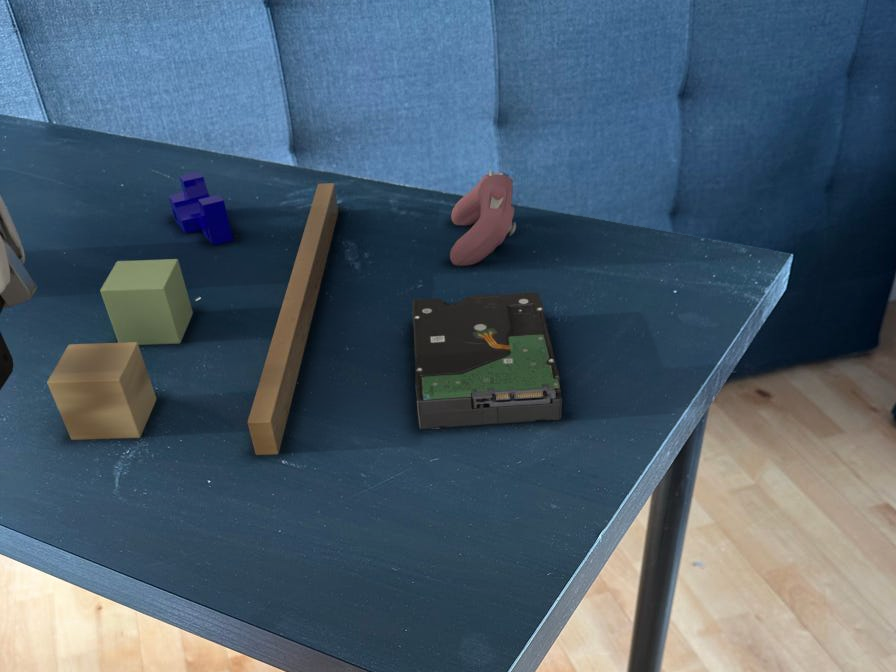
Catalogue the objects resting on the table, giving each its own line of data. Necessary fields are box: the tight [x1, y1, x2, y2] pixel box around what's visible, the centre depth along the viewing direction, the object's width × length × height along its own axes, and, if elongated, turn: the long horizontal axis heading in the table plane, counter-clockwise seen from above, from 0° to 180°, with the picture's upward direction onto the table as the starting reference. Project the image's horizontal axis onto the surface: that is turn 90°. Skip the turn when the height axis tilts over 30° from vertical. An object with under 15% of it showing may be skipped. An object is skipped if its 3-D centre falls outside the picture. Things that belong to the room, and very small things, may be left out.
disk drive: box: [411, 291, 563, 430], centre depth 70 cm, size 10×3×15 cm
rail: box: [247, 182, 339, 456], centre depth 77 cm, size 2×40×3 cm, turn 0°
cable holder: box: [167, 171, 234, 246], centre depth 89 cm, size 8×4×4 cm, turn 28°
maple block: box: [46, 342, 157, 441], centre depth 67 cm, size 5×5×5 cm
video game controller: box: [449, 169, 517, 267], centre depth 84 cm, size 10×5×7 cm, turn 0°
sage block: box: [100, 258, 194, 346], centre depth 76 cm, size 5×5×5 cm
